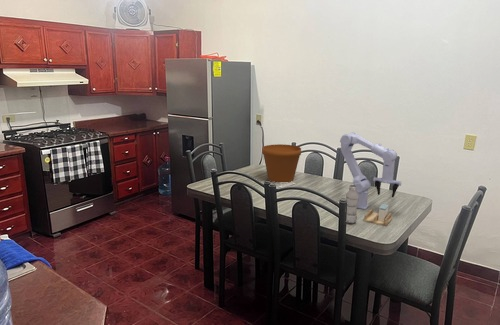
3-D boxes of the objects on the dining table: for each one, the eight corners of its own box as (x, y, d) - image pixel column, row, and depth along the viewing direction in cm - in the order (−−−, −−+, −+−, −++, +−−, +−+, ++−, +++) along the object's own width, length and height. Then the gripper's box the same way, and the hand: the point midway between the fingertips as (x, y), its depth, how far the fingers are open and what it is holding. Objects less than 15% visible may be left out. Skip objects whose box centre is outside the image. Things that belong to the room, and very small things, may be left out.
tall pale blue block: (378, 220, 190) (379, 207, 188) (381, 216, 196) (382, 203, 194) (384, 221, 188) (385, 208, 187) (387, 217, 194) (388, 205, 192)
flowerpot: (292, 187, 249) (293, 153, 243) (255, 181, 260) (256, 149, 255) (304, 177, 273) (306, 146, 267) (270, 172, 285) (271, 143, 279)
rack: (362, 221, 192) (363, 215, 191) (370, 213, 202) (370, 208, 201) (386, 226, 185) (386, 220, 184) (392, 218, 196) (392, 213, 195)
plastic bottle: (354, 219, 193) (357, 184, 188) (358, 224, 187) (361, 188, 182) (342, 219, 193) (344, 184, 188) (346, 225, 186) (348, 188, 182)
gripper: (372, 171, 199) (370, 195, 202) (400, 175, 191) (397, 200, 195) (376, 169, 205) (374, 191, 208) (403, 172, 197) (400, 196, 200)
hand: (385, 195), depth 202 cm, fingers open, 7 cm apart
